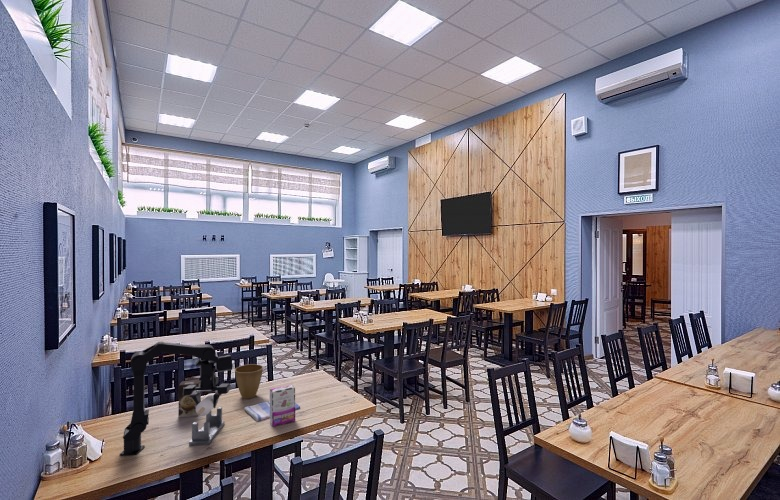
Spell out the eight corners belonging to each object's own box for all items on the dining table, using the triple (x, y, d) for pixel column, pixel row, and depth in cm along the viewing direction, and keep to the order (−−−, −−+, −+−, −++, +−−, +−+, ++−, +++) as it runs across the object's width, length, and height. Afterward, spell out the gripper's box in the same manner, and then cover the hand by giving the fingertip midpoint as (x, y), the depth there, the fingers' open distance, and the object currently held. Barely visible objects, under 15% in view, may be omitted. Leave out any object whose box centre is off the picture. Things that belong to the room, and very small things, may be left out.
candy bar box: (292, 417, 183) (292, 384, 183) (295, 421, 179) (295, 387, 179) (269, 423, 177) (269, 388, 177) (272, 427, 172) (272, 391, 173)
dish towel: (243, 411, 191) (243, 405, 191) (286, 399, 206) (286, 394, 206) (255, 423, 178) (255, 417, 178) (300, 409, 193) (300, 404, 193)
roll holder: (208, 444, 157) (208, 424, 157) (188, 445, 156) (189, 425, 156) (224, 423, 176) (224, 405, 176) (206, 424, 175) (206, 406, 175)
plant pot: (228, 399, 205) (228, 370, 205) (248, 389, 219) (248, 362, 219) (249, 403, 199) (249, 373, 199) (268, 393, 213) (268, 365, 213)
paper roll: (206, 419, 157) (206, 405, 157) (191, 420, 157) (191, 406, 157) (221, 402, 175) (221, 389, 175) (208, 403, 175) (208, 390, 175)
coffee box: (177, 418, 182) (178, 385, 182) (181, 412, 188) (181, 380, 188) (198, 415, 184) (198, 383, 184) (201, 410, 190) (201, 379, 190)
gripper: (234, 367, 175) (234, 400, 175) (193, 368, 173) (193, 402, 173) (226, 375, 164) (226, 410, 164) (182, 376, 162) (182, 412, 162)
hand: (207, 408), depth 166 cm, fingers closed on paper roll, 6 cm apart
